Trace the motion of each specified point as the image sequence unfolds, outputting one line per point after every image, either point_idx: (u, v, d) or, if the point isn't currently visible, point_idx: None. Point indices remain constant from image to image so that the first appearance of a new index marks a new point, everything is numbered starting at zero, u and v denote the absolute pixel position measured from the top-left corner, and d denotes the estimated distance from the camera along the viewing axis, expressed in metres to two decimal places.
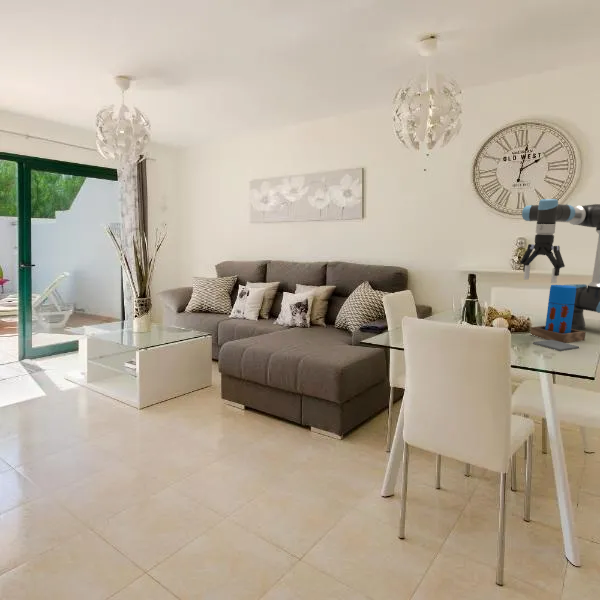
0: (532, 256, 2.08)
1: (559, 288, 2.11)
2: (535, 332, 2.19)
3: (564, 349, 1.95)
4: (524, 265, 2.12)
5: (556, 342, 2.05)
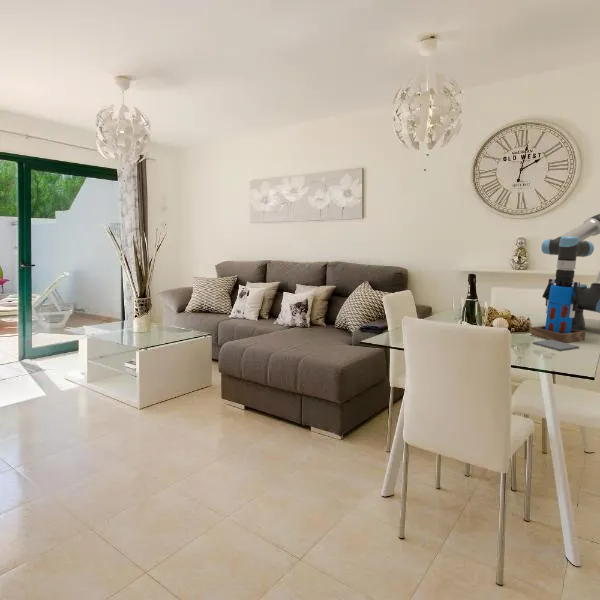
0: None
1: (559, 288, 2.11)
2: (535, 332, 2.19)
3: (564, 349, 1.95)
4: (547, 299, 2.21)
5: (556, 342, 2.05)
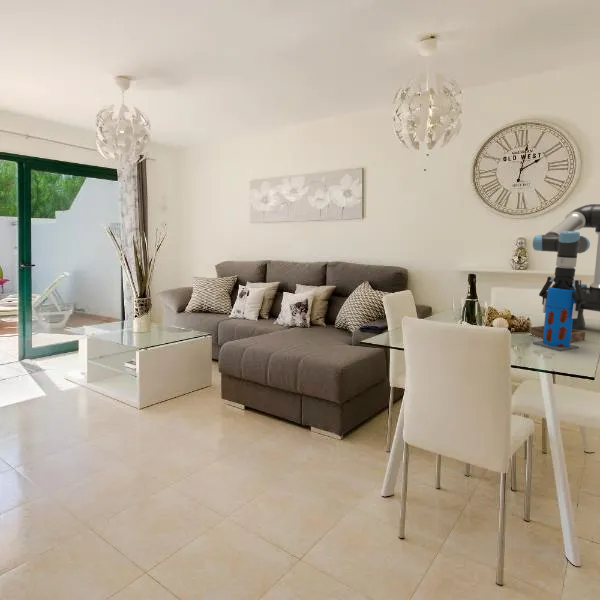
0: None
1: (557, 291, 1.95)
2: (535, 332, 2.19)
3: (564, 349, 1.95)
4: (543, 298, 2.06)
5: None
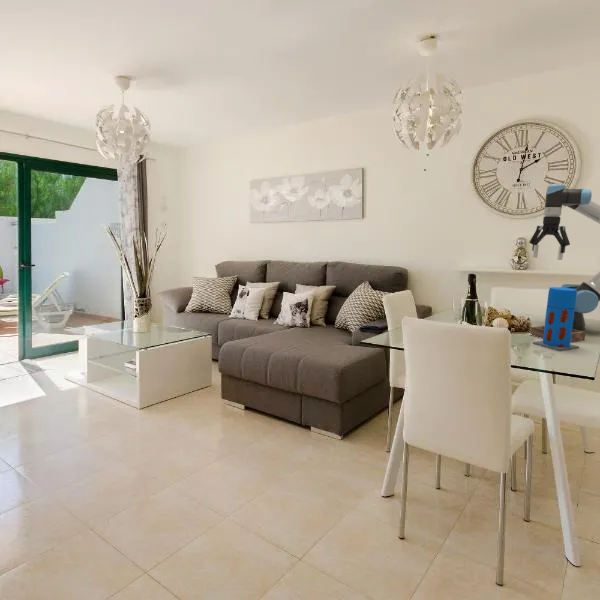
0: (540, 236, 2.32)
1: (558, 291, 1.95)
2: (535, 332, 2.19)
3: (564, 349, 1.95)
4: (533, 245, 2.36)
5: None
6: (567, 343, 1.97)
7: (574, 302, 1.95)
